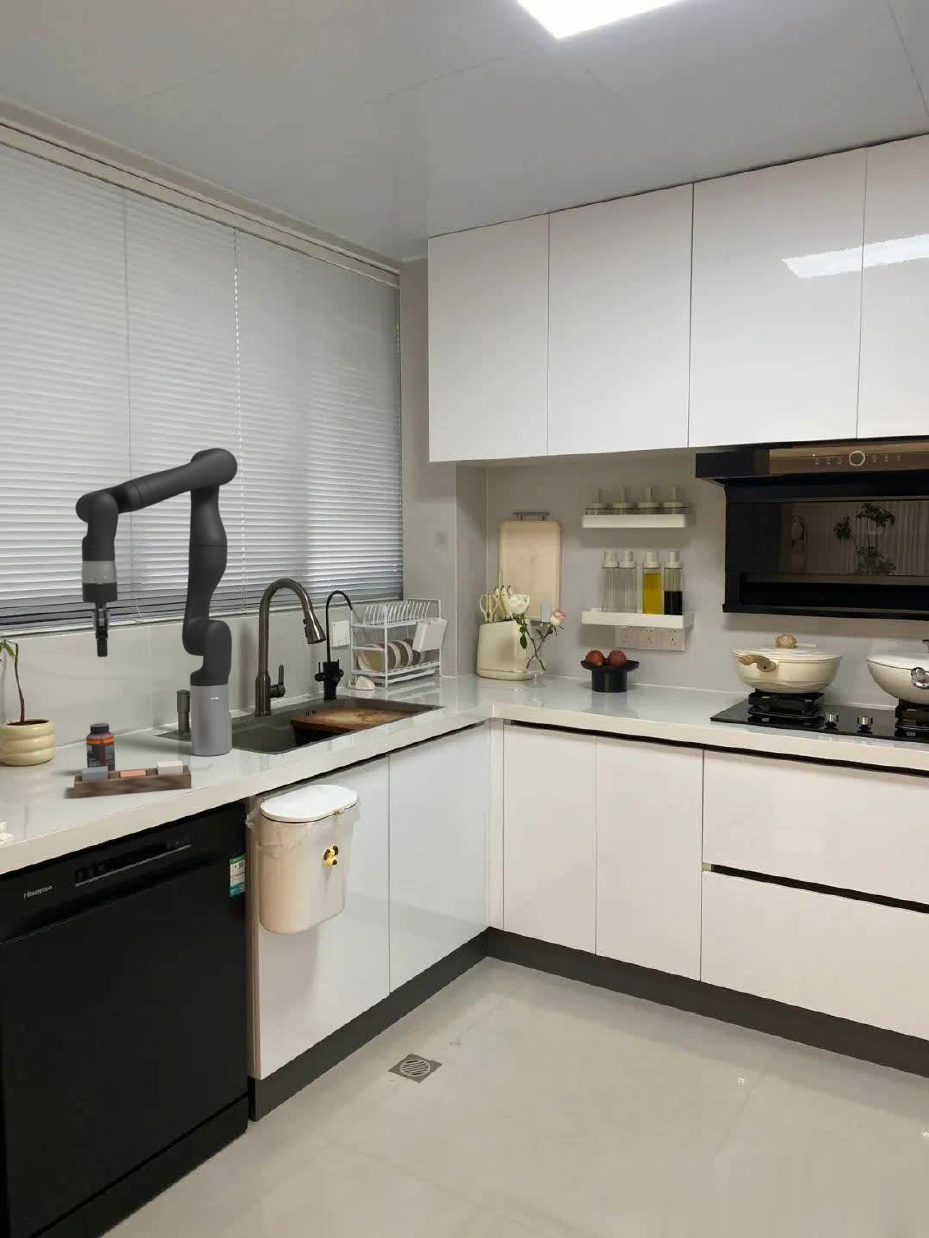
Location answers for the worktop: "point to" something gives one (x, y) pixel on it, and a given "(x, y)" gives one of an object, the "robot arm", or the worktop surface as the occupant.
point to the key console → (131, 783)
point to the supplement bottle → (100, 747)
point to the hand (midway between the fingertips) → (102, 656)
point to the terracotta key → (132, 773)
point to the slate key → (95, 773)
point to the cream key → (169, 767)
